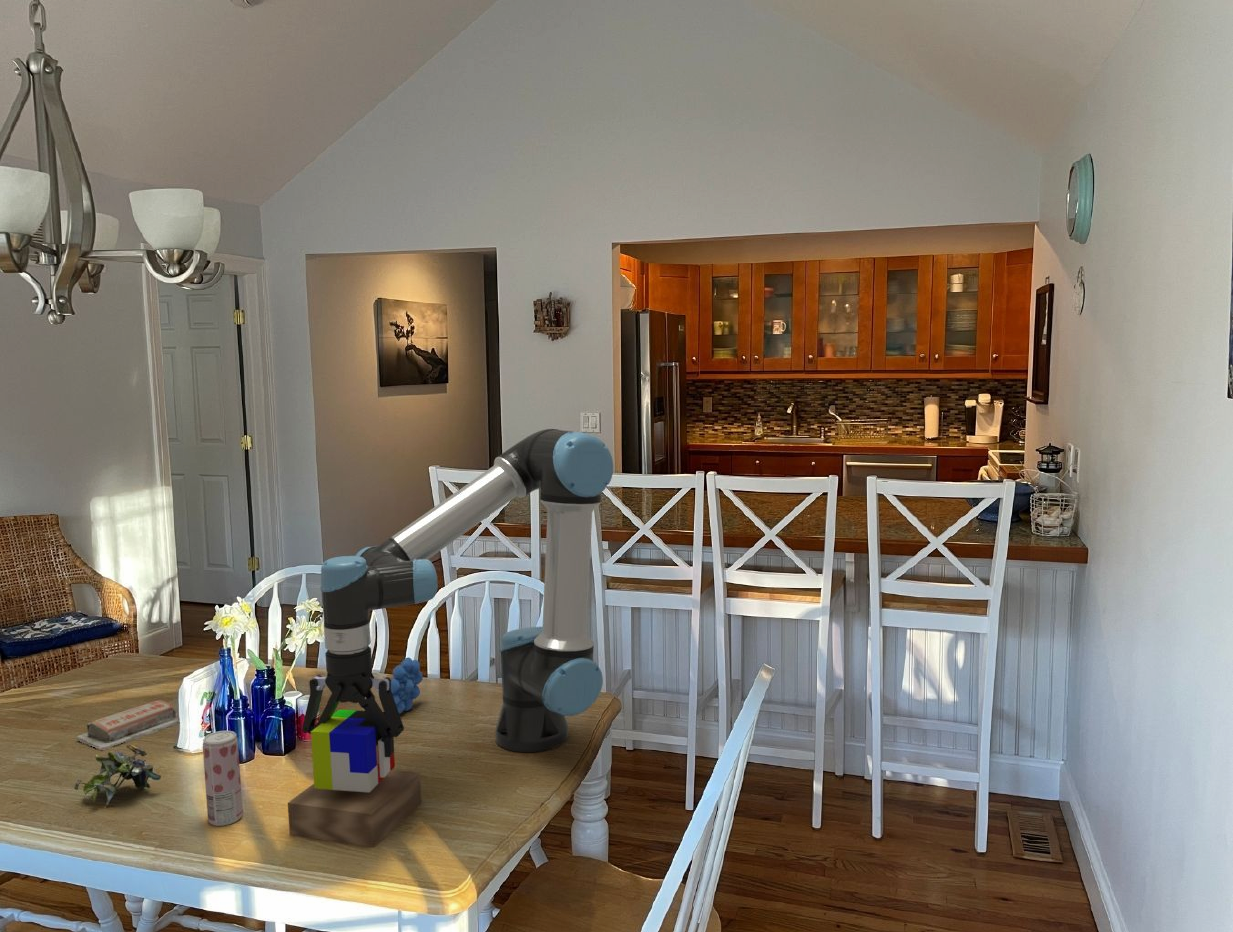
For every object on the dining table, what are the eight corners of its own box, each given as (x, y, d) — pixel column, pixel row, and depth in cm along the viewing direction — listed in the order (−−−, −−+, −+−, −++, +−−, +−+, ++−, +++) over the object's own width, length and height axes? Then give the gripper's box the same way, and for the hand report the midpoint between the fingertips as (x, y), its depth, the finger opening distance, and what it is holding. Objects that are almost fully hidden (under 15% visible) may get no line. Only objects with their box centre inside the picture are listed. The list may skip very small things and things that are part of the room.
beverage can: (248, 810, 169) (242, 729, 167) (236, 826, 163) (230, 742, 161) (215, 811, 169) (209, 730, 167) (202, 827, 163) (196, 743, 161)
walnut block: (421, 804, 171) (419, 772, 170) (373, 848, 156) (371, 814, 155) (343, 793, 175) (341, 762, 175) (289, 836, 160) (287, 802, 159)
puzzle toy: (369, 792, 159) (366, 734, 157) (314, 788, 161) (310, 731, 159) (394, 766, 168) (391, 712, 167) (342, 763, 170) (339, 709, 169)
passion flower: (141, 816, 179) (176, 765, 178) (99, 834, 168) (136, 780, 167) (100, 778, 181) (134, 728, 180) (56, 794, 170) (92, 740, 170)
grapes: (406, 699, 222) (404, 649, 220) (430, 703, 219) (428, 652, 218) (374, 717, 211) (371, 664, 210) (398, 721, 209) (396, 668, 207)
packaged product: (155, 695, 216) (181, 703, 210) (156, 715, 216) (182, 724, 211) (74, 721, 201) (100, 731, 195) (76, 743, 201) (102, 753, 196)
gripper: (274, 653, 160) (283, 778, 163) (403, 656, 156) (410, 785, 159) (296, 639, 167) (304, 760, 170) (419, 642, 164) (425, 766, 166)
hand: (355, 772), depth 164 cm, fingers closed on puzzle toy, 10 cm apart
